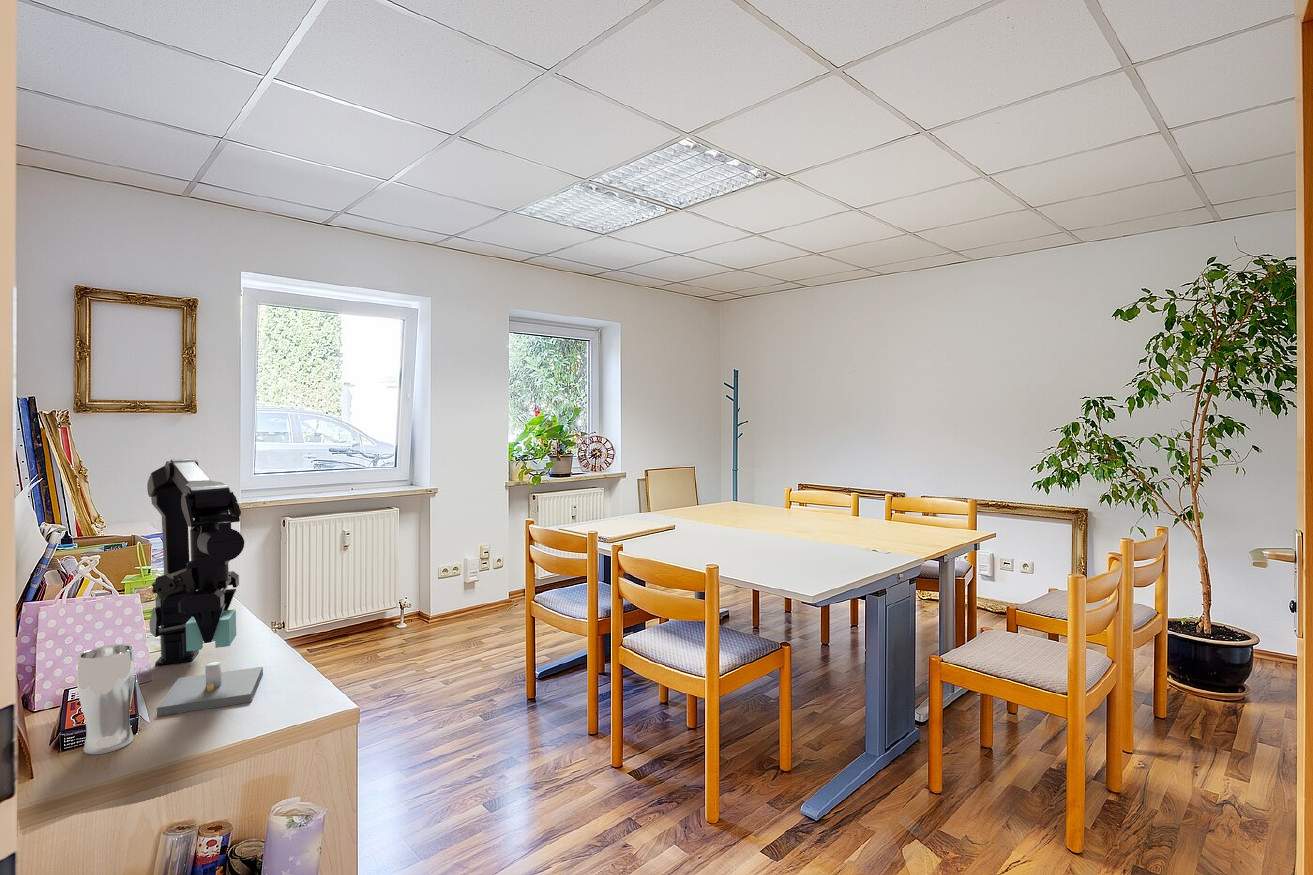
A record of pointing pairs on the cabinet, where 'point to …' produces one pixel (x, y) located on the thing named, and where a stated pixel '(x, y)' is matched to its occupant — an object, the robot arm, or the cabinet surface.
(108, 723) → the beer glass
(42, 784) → the cabinet surface
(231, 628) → the collar
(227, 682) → the base
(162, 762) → the cabinet surface
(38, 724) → the cabinet surface
